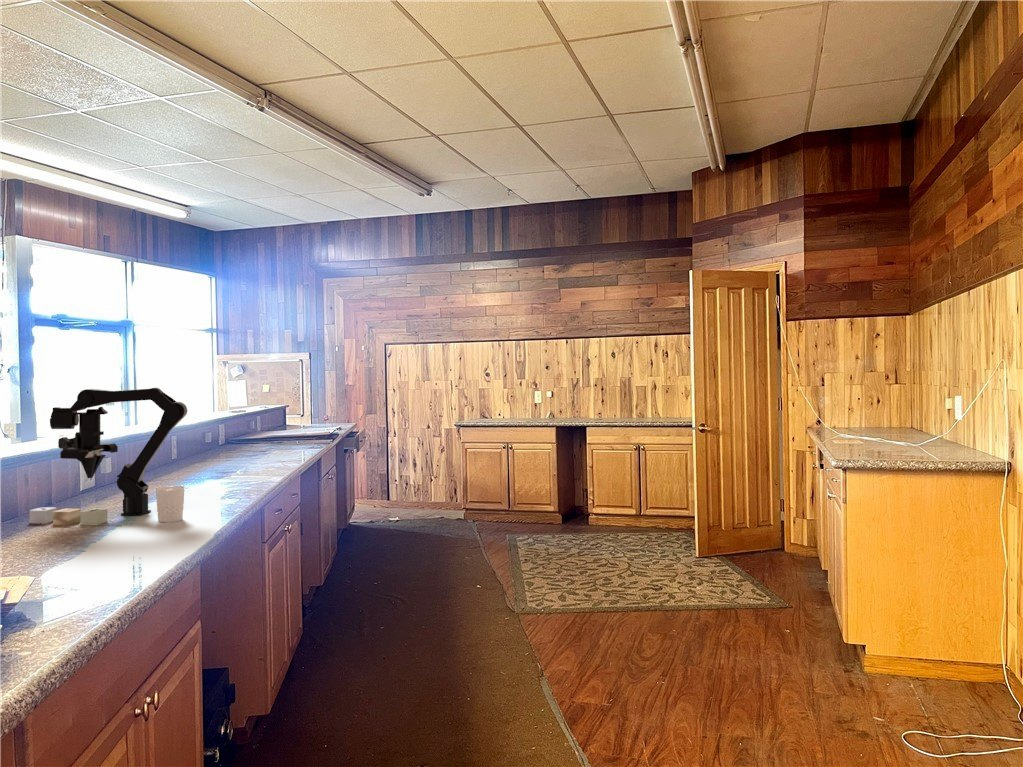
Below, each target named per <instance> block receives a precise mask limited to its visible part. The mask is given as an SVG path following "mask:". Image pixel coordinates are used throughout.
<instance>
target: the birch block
mask: <svg viewBox="0 0 1023 767" xmlns="http://www.w3.org/2000/svg"><path fill="white" fill-rule="evenodd" d="M81 512H82V509H81V508H67V507H66V508H62V509H57V511H54V512H53V522H52V525H53V526H55V525H56V526H58V525H59V526H70V525H74V524H78V523H81Z"/></svg>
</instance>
